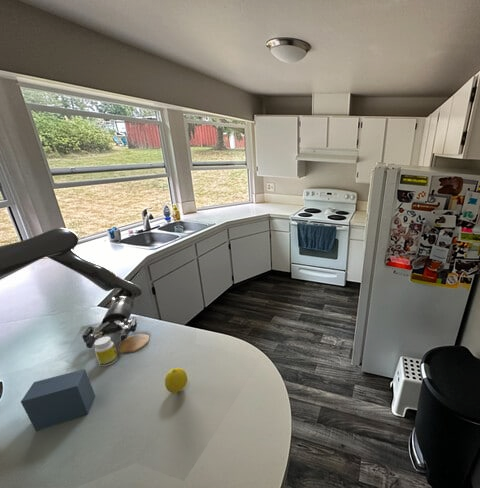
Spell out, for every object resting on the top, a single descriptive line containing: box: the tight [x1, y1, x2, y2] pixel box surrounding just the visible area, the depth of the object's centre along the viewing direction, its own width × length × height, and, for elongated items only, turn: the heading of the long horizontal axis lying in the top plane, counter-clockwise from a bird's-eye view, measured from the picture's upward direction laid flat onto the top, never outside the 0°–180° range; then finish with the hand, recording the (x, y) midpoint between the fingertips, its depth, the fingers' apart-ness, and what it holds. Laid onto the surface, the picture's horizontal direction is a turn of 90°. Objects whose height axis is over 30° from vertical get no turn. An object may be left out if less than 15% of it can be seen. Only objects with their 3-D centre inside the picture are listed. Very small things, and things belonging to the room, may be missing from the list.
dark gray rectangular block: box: [20, 368, 96, 432], centre depth 65 cm, size 10×6×10 cm, turn 117°
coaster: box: [117, 333, 150, 354], centre depth 90 cm, size 9×9×1 cm
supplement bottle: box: [93, 336, 119, 367], centre depth 81 cm, size 5×5×8 cm
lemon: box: [164, 367, 188, 394], centre depth 72 cm, size 6×6×8 cm
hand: (106, 342), depth 83 cm, fingers open, 8 cm apart
